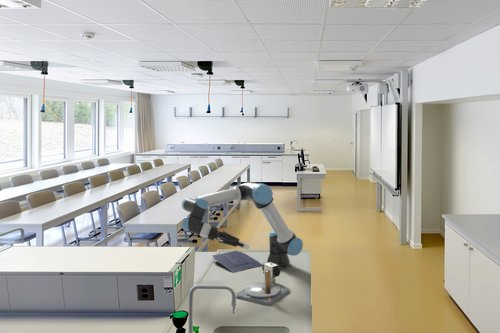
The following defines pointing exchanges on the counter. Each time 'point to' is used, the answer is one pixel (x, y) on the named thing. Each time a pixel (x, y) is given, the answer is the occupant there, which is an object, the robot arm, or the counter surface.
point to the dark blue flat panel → (236, 261)
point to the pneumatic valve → (273, 268)
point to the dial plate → (263, 300)
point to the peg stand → (263, 288)
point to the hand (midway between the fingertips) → (249, 247)
